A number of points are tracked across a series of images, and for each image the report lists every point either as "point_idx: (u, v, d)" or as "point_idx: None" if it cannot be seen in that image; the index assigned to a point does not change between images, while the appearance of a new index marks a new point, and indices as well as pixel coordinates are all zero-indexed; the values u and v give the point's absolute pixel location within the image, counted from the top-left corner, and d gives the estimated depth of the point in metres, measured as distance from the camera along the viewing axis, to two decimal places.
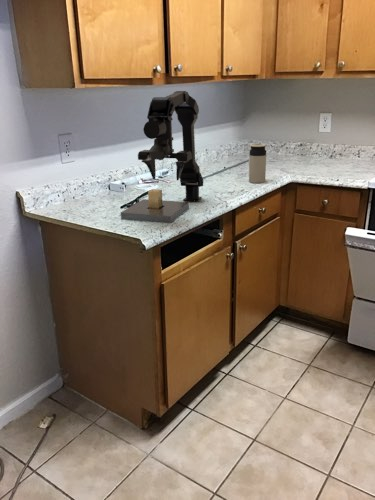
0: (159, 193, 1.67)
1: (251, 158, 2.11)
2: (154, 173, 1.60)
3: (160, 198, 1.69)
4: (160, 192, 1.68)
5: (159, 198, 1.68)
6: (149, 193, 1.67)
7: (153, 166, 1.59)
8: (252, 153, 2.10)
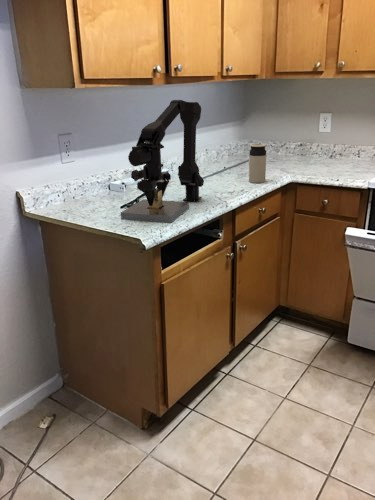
0: (159, 193, 1.67)
1: (251, 158, 2.11)
2: None
3: (160, 198, 1.69)
4: (160, 192, 1.68)
5: (159, 198, 1.68)
6: None
7: (161, 188, 1.72)
8: (252, 153, 2.10)
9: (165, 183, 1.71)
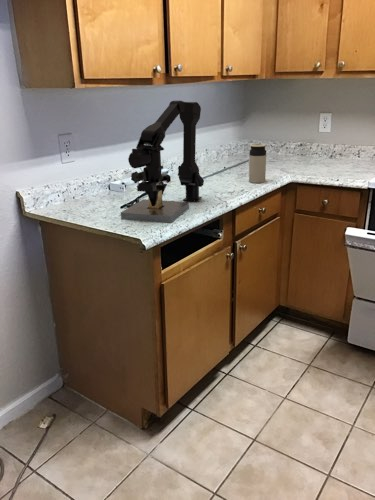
0: (159, 193, 1.67)
1: (251, 158, 2.11)
2: None
3: (160, 198, 1.69)
4: (160, 192, 1.68)
5: (159, 198, 1.68)
6: None
7: None
8: (252, 153, 2.10)
9: (163, 186, 1.69)
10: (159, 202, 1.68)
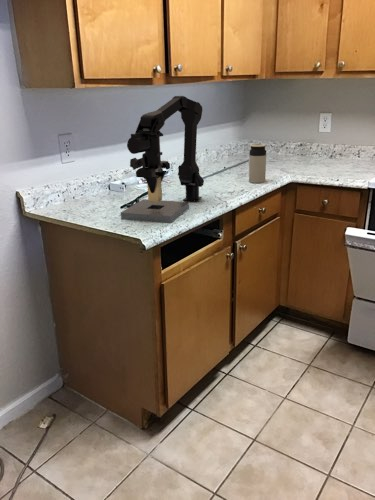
0: (158, 180, 1.65)
1: (251, 158, 2.11)
2: None
3: (159, 185, 1.67)
4: (159, 179, 1.66)
5: (158, 185, 1.66)
6: None
7: None
8: (252, 153, 2.10)
9: (162, 173, 1.67)
10: (158, 189, 1.66)
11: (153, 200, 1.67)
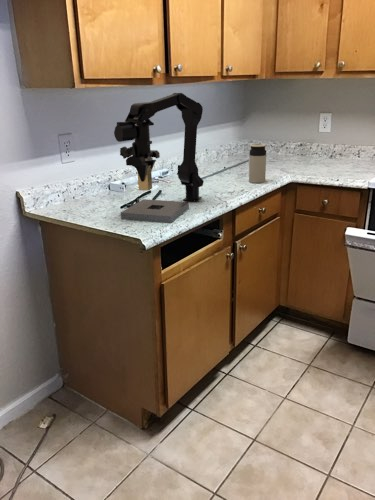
0: (148, 168, 1.67)
1: (251, 158, 2.11)
2: None
3: (149, 174, 1.69)
4: (149, 167, 1.68)
5: (148, 173, 1.68)
6: None
7: None
8: (252, 153, 2.10)
9: (152, 162, 1.69)
10: (148, 177, 1.68)
11: (143, 188, 1.69)
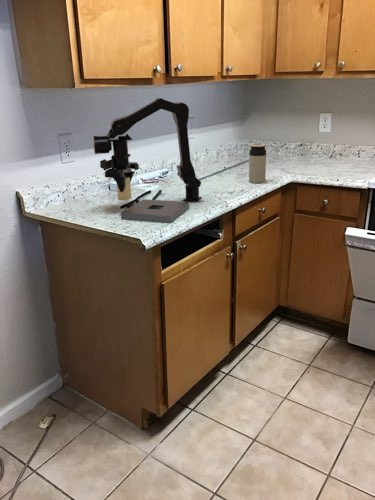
0: (127, 180, 1.78)
1: (251, 158, 2.11)
2: None
3: (128, 185, 1.79)
4: (128, 179, 1.79)
5: (127, 184, 1.78)
6: None
7: None
8: (252, 153, 2.10)
9: (130, 173, 1.80)
10: (127, 188, 1.79)
11: (122, 198, 1.80)
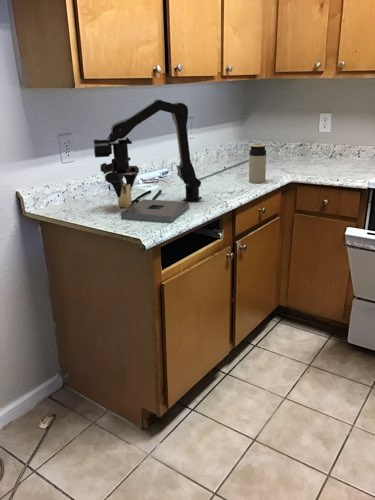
0: (127, 187, 1.79)
1: (251, 158, 2.11)
2: None
3: (129, 192, 1.81)
4: (128, 186, 1.80)
5: (127, 191, 1.79)
6: None
7: (129, 180, 1.83)
8: (252, 153, 2.10)
9: (133, 176, 1.82)
10: (127, 195, 1.80)
11: (123, 205, 1.81)
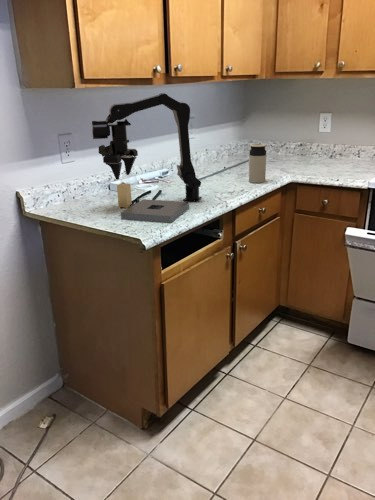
0: (127, 187, 1.79)
1: (251, 158, 2.11)
2: (127, 170, 1.82)
3: (129, 192, 1.81)
4: (128, 186, 1.80)
5: (127, 191, 1.79)
6: (118, 187, 1.79)
7: (128, 164, 1.81)
8: (252, 153, 2.10)
9: (132, 159, 1.80)
10: (127, 195, 1.80)
11: (123, 205, 1.81)
